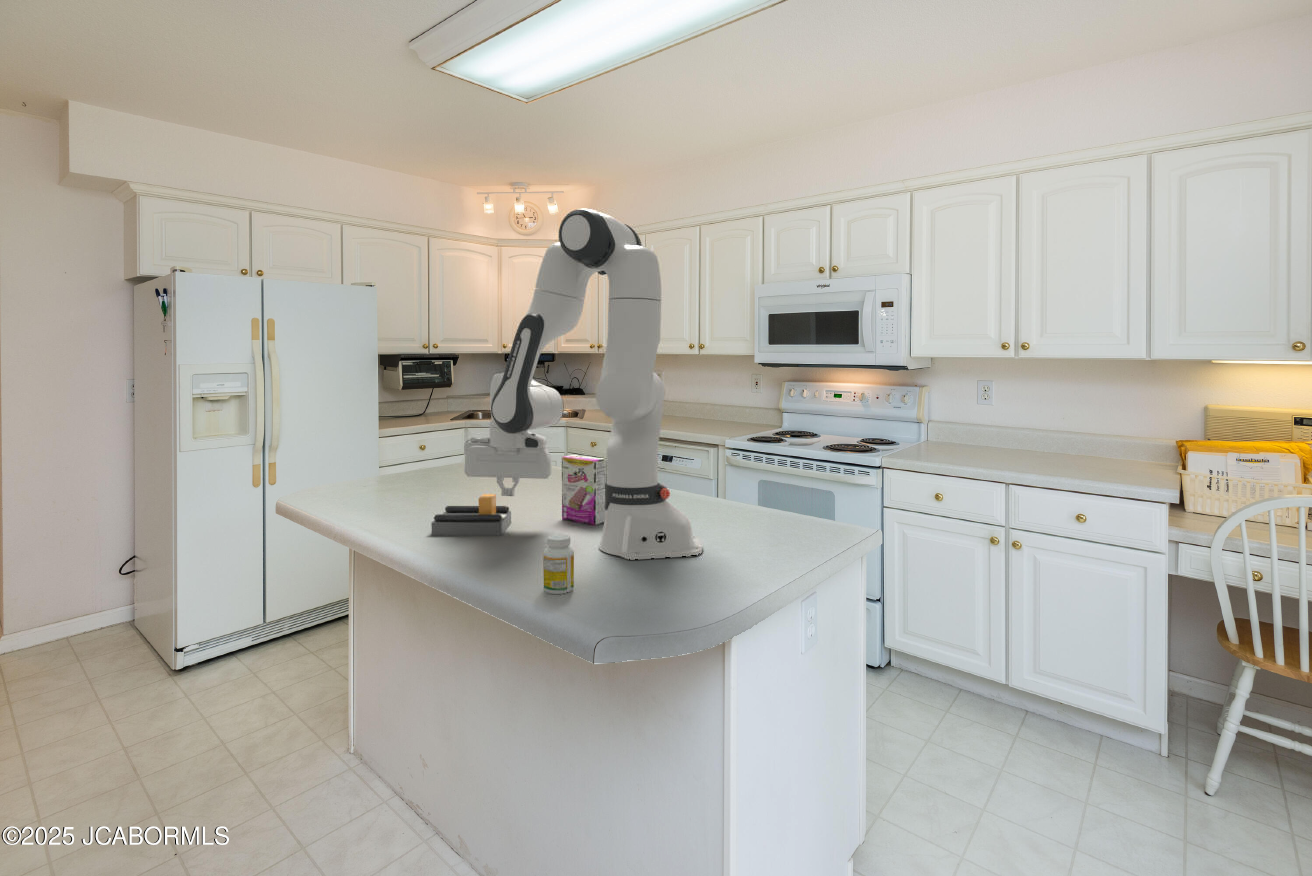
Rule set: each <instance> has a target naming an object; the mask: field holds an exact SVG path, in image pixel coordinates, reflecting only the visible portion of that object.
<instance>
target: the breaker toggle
mask: <svg viewBox="0 0 1312 876" xmlns="http://www.w3.org/2000/svg"><path fill="white" fill-rule="evenodd" d="M478 506H479V514H495V513H496V506H497V493H496V494H495V493H493V494H492V493H491V494H489V493H485V494H482V495H480V497H479V498H478Z"/></svg>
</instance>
